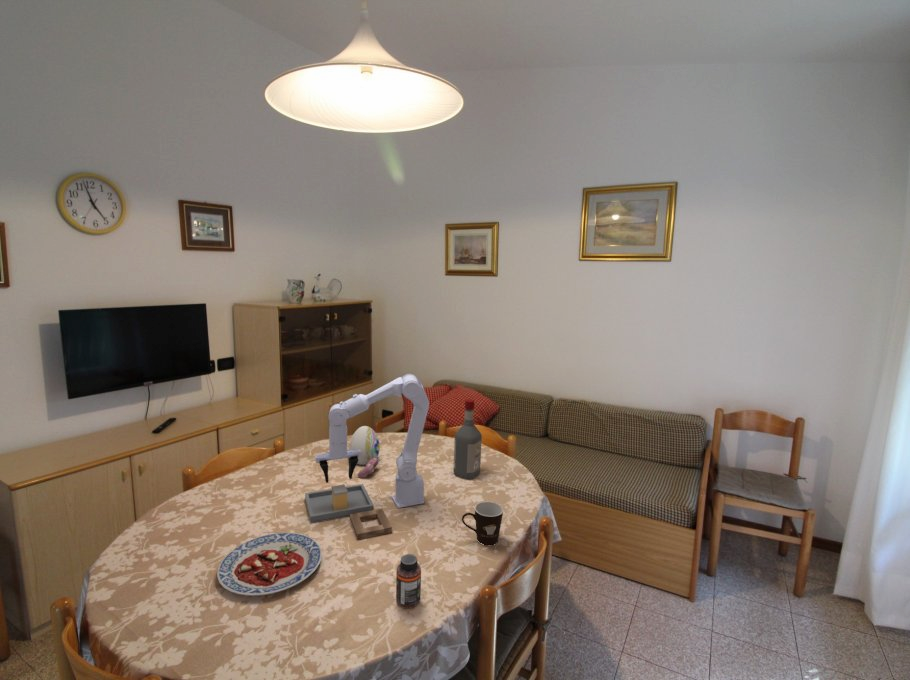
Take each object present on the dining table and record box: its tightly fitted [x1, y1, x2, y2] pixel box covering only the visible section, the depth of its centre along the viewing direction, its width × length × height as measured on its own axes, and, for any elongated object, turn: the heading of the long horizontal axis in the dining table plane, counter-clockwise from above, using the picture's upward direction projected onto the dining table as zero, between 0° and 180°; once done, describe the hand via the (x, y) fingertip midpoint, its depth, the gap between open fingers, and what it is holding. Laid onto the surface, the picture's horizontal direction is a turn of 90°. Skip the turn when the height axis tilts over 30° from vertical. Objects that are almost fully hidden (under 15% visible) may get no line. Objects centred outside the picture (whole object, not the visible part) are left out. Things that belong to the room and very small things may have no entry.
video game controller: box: [357, 457, 380, 479], centre depth 179 cm, size 10×5×7 cm, turn 169°
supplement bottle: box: [395, 553, 422, 609], centre depth 111 cm, size 6×6×11 cm
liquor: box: [453, 398, 482, 480], centre depth 179 cm, size 9×9×30 cm
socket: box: [349, 508, 393, 541], centre depth 143 cm, size 11×12×2 cm
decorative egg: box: [348, 425, 381, 466], centre depth 189 cm, size 12×12×15 cm
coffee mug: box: [461, 500, 504, 546], centre depth 138 cm, size 12×9×10 cm
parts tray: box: [304, 483, 375, 524], centre depth 155 cm, size 20×16×2 cm
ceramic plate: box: [216, 532, 323, 597], centre depth 122 cm, size 26×26×3 cm
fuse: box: [331, 484, 348, 511], centre depth 152 cm, size 4×5×6 cm
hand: (338, 479), depth 153 cm, fingers open, 7 cm apart
